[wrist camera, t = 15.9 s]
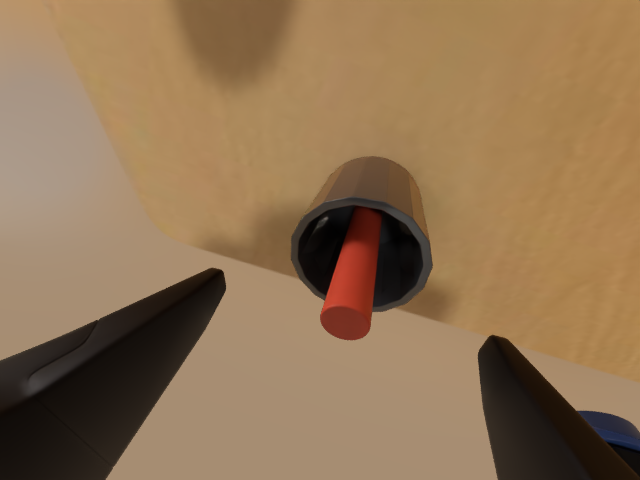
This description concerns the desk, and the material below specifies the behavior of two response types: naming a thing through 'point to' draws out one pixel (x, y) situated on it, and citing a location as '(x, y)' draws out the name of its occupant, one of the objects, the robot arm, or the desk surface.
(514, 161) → the desk surface
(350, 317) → the straw
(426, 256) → the tin
